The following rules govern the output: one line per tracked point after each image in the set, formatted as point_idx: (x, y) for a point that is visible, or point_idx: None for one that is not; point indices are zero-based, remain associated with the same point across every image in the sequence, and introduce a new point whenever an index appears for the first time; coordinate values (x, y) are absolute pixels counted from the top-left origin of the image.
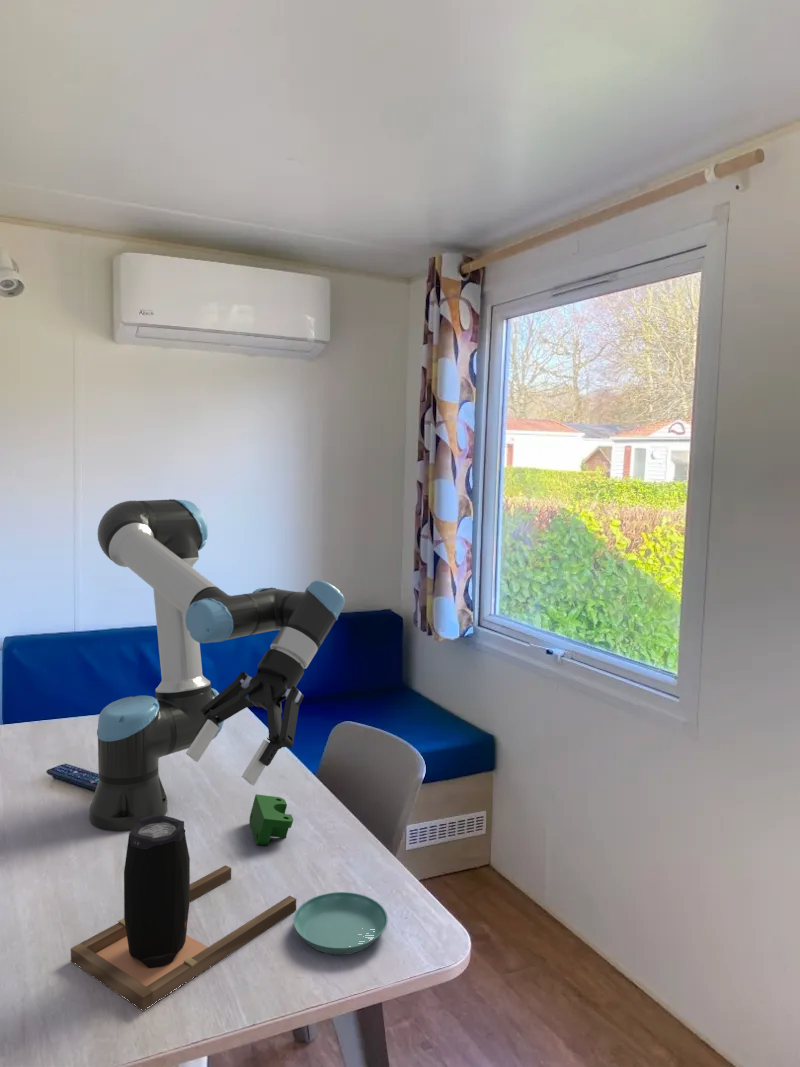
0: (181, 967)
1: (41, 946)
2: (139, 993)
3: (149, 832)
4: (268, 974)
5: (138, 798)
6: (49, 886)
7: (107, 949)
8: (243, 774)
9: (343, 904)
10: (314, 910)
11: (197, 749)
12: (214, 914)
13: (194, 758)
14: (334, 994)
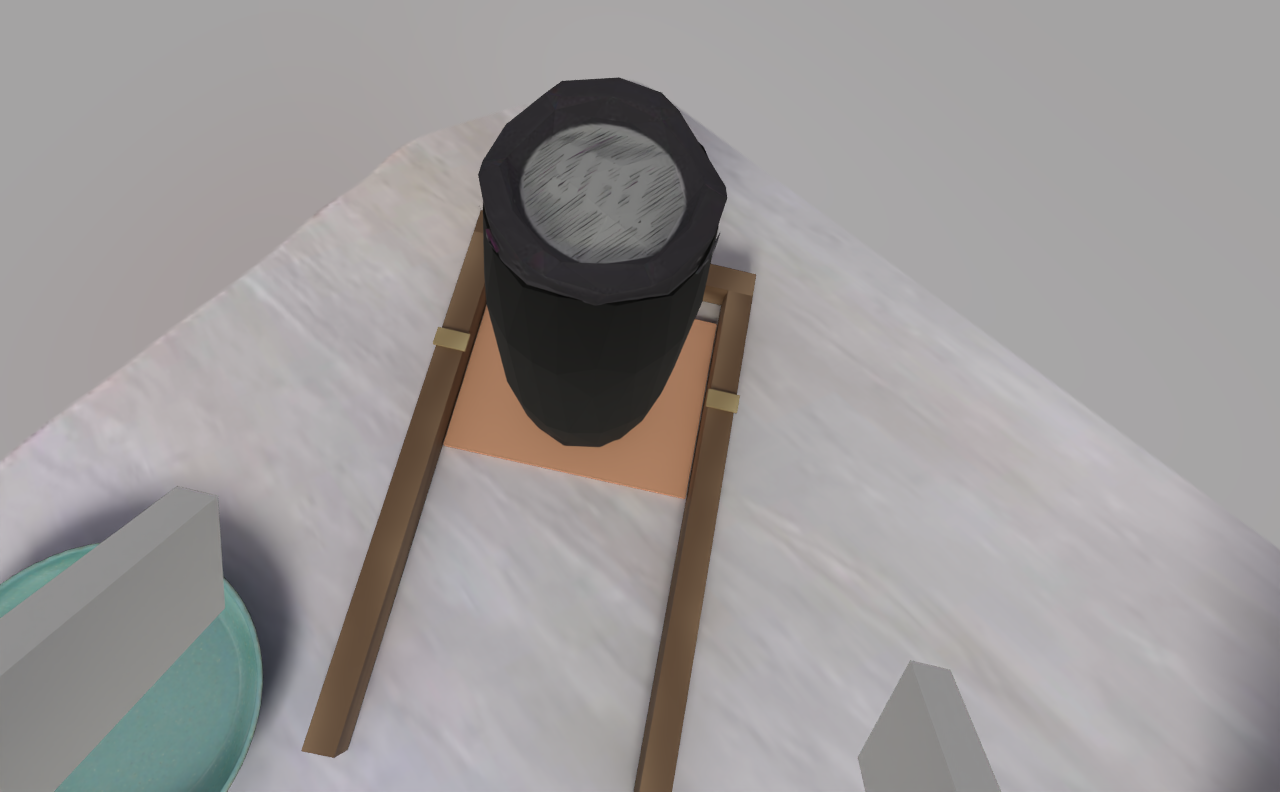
0: (463, 317)
1: (849, 304)
2: None
3: (618, 159)
4: (268, 434)
5: None
6: (1063, 497)
7: (703, 344)
8: (193, 505)
9: None
10: (233, 749)
11: (908, 774)
12: (556, 596)
13: (878, 725)
14: (58, 437)
